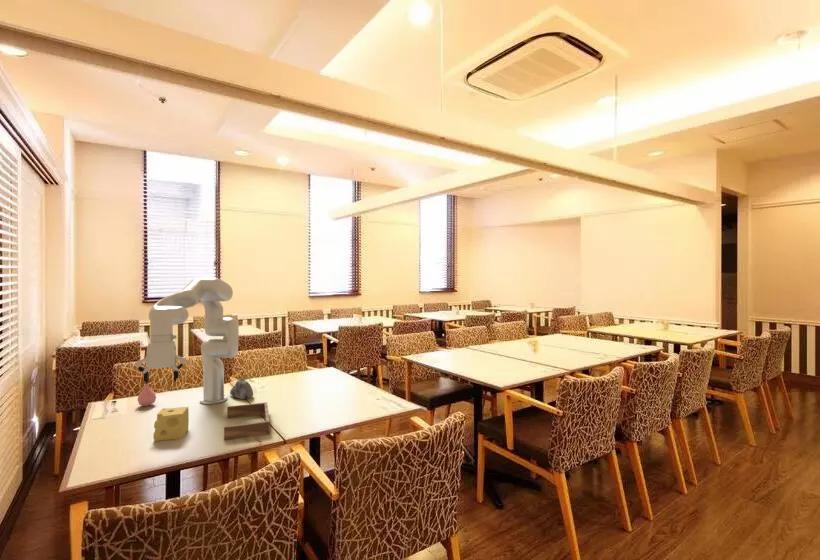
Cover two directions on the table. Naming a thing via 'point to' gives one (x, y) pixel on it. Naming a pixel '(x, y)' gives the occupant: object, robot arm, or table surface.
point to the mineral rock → (242, 390)
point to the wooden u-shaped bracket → (250, 428)
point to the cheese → (171, 423)
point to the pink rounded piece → (146, 396)
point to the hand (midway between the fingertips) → (161, 381)
